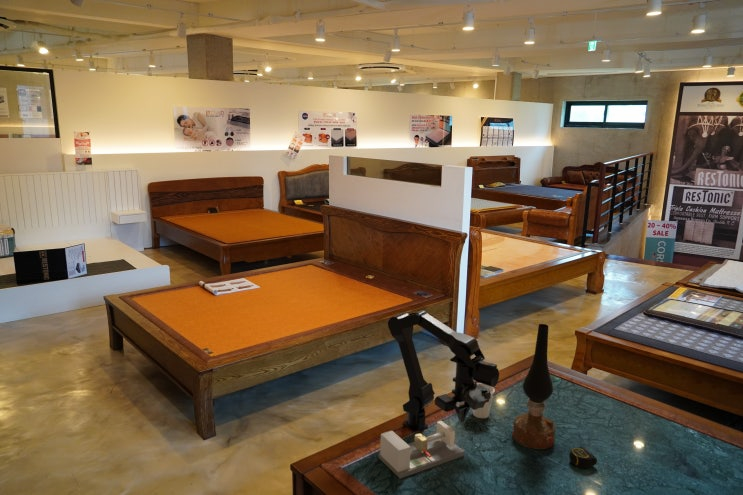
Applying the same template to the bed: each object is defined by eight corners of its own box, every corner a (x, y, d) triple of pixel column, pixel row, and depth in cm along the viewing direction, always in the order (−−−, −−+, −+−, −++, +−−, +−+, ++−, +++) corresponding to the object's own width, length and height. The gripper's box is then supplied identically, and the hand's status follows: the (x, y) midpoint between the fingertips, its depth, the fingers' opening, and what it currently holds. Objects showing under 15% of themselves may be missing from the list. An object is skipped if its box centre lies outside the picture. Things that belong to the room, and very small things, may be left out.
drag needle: (414, 446, 170) (414, 434, 169) (419, 444, 171) (420, 433, 170) (427, 458, 164) (428, 446, 163) (433, 456, 165) (433, 444, 164)
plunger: (417, 441, 173) (418, 427, 172) (440, 434, 177) (441, 420, 176) (431, 453, 167) (432, 438, 166) (454, 445, 171) (455, 430, 170)
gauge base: (378, 457, 169) (379, 432, 167) (440, 437, 181) (441, 413, 179) (399, 478, 159) (401, 452, 157) (464, 455, 171) (465, 430, 169)
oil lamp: (505, 439, 187) (487, 327, 181) (543, 425, 191) (526, 315, 185) (528, 457, 174) (509, 337, 168) (568, 442, 178) (551, 325, 172)
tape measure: (597, 468, 167) (598, 457, 166) (578, 471, 164) (579, 460, 164) (582, 455, 173) (583, 444, 172) (564, 458, 171) (565, 448, 170)
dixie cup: (479, 422, 191) (481, 396, 188) (464, 411, 198) (465, 386, 196) (497, 416, 195) (499, 390, 193) (481, 406, 202) (483, 381, 200)
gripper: (458, 394, 161) (454, 442, 165) (504, 380, 171) (500, 426, 174) (435, 379, 171) (432, 424, 174) (480, 367, 180) (477, 410, 183)
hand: (461, 421), depth 176 cm, fingers closed
